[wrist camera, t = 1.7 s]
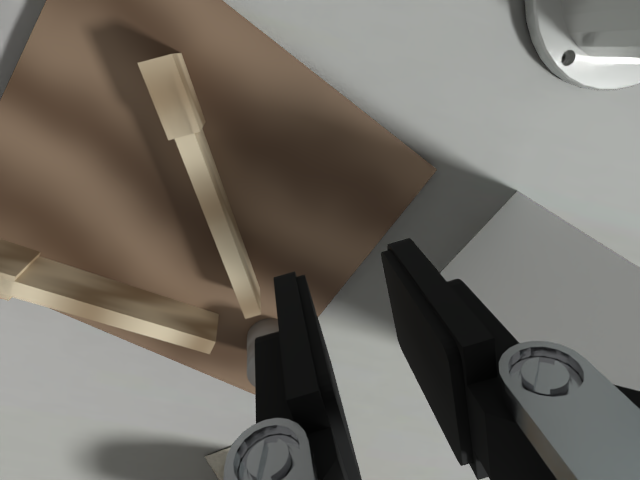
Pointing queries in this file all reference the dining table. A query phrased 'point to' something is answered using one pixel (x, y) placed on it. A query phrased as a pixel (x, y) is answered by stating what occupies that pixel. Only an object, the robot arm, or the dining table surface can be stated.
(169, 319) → the beige long slender part
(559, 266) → the milk
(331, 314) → the dining table surface
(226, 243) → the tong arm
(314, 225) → the board
